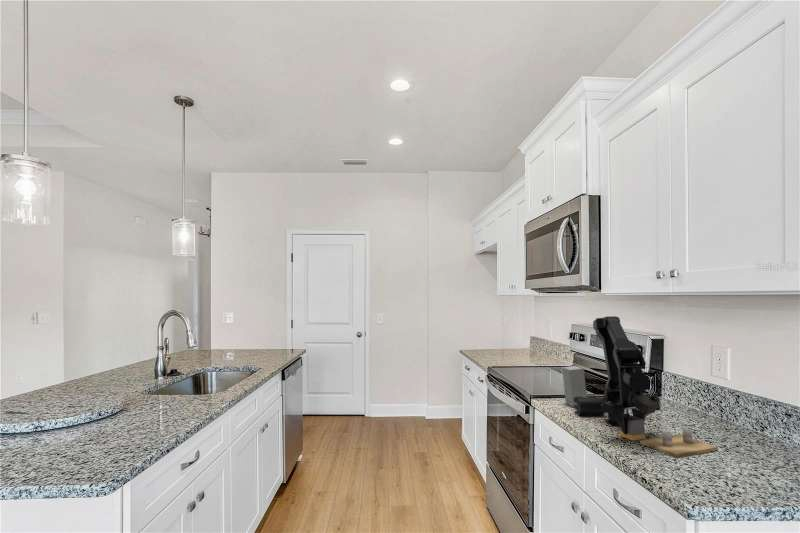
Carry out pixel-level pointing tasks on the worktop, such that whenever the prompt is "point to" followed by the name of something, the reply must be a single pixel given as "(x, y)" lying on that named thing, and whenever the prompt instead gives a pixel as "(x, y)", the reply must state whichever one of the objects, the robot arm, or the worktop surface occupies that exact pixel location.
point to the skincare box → (574, 384)
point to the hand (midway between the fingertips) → (632, 433)
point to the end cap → (588, 406)
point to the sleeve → (634, 428)
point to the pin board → (678, 444)
